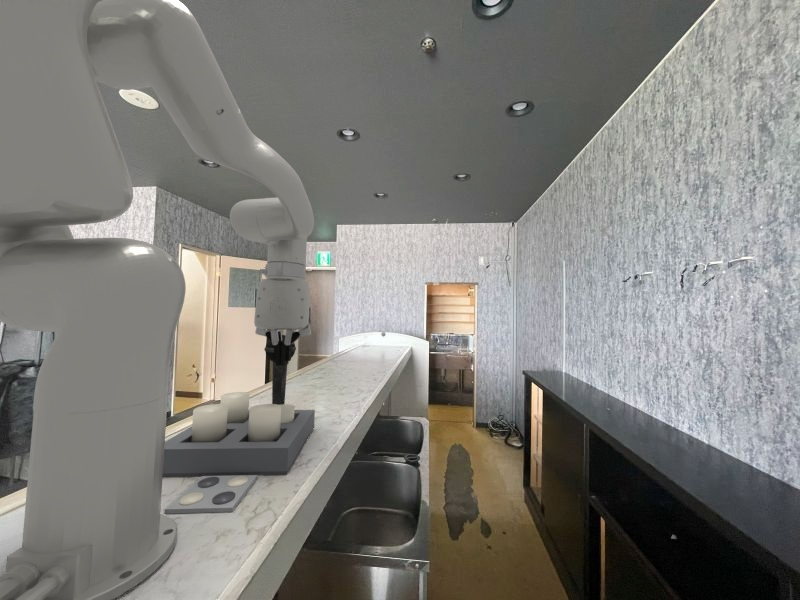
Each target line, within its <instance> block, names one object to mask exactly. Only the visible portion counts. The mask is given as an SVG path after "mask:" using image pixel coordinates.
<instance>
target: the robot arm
mask: <svg viewBox="0 0 800 600" xmlns="http://www.w3.org/2000/svg"><path fill="white" fill-rule="evenodd" d="M98 83H101V84H103V85H105V86H108V87H110V88H114V89H117V90H124V91H130V90H132V91H133V90H140V89H147V88H152V90H153V91H154V94H156V96H157V97H158V99H159V101H160V102H161V103H162V105H163V107H164V108H165V109H166V111H167V113H168V114H169V115H170V117H171V119H172V120H173V122H174V123H175V125H176V127H177V129H178V130H179V131H180V133H181V134H182V136H183V137H184V139H185V140H186V142H187V144H188V145H189V146H190V149H191V150H192V151H193V152H194V153H195V154H196V155H197V156H199V157H200V158H202V159H204V160H206V161H209V162H211V163H213V164H217V165H220V166H221V167H224V168H227V169H230V170H233V171H235V172H238V173H241V174H244V175H245V176H247V177H250V178H252V179H254V180H256V181H257V182H259V183H261V184H262V185H264V187H267V189H269V191H270V192H272V193H273V194H274V195H275V197H264V198H252V199H251V198H249V199H243V200H240V201H238V202H236V203H235V204H234V205H233V206H232V207H231V209H230V213H229V221H230V224H231V227H232V228H233V230H234V232H235V233H236V234H238V236H239V237H241V238H243V239H245V240H247V241H250V242H254V243H260V244H265V245H267V258H266V259H267V262H266V264H265V267H260V268H259V271H258V272H259V275H263V276H264V277H265V278H262V279H261V280H260V284H259V287H258V292H257V297H256V302H255V309H254V326H255V327H256V328H255V334H256V335H258V336H262V337H266V338H267V339H268V341H269V340H270V341H271V342H272V344H273V345H274V361H276V366H280V365H281V366H285V365H287V366H288V365H289V363H290V361H291V360H292V358H291V350H292V344H293V343H296V341H297V340H298V339H299V338H302V337H305V336H310V335H311V334H312V329H311V323H312V305H311V303H312V302H311V290H310V284H309V281H307V280H306V271H307V269H306V268H307V248H308V247H307V246H308V237H309V236H310V235H311V234H312V232H313V230H314V227H315V216H314V211H313V208H312V204H311V202H310V200H309V196H308V194H307V192H306V189H305V187H304V183H303V182H302V180H301V178H300V176H299V175H298V173H297V172H296V170H295V169H294V168H293V167H292V165H290V164H289V163H288V161H286V160H285V159H284V158H283V157H282V156H281V154H279V153H278V152H277V151H276V150H275V149H273V148H272V147H271V146H270V145H268V144H267V143H266V142H264V141H263V140H262V139H260V138H259V137H258V136H256V135H255V134H254V133H253V132H252V130H251V129H250V127H249V126H248V124H247V122H246V119H245V118H244V115H243V114H242V112H241V109H240V108H239V105H238V103H237V101H236V99H235V97H234V95H233V93H232V91H231V89H230V87H229V85H228V82H227V80H226V79H225V76H224V74H223V72H222V70H221V67H220V65H219V63H218V62H217V59H216V57H215V55H214V53H213V51H212V49H211V47H210V45H209V42H208V41H207V38H206V37H205V34H204V33H203V30H202V28H201V26H200V25H199V23H198V21H197V20H196V17H195V16H194V14H192V12H191V11H190V9H189V8H188V7H187V6H186V5H185V4H184V3H182V2H181V1H180V0H0V322H1V323H2V324H5V325H8V326H10V327H13V328H17V329H19V330H20V329H21V330H25V331H31V332H32V331H33V332H42V333H43V332H44V333H49V332H50V333H57V334H56V336H55V338H54V339H53V342H52V343H51V345H50V347H49V348H48V351H47V353H46V354H45V356H44V358H43V360H42V363H41V365H40V368H39V370H38V374H37V376H36V377H37V378H36V381H35V387H34V393H33V404H32V410H33V414H32V426H31V427H32V428H31V436H30V437H31V438H30V449H29V460H28V470H27V471H28V472H27V474H28V475H27V484H26V494H25V497H26V498H25V506H24V507H25V508H24V517H23V528H22V529H23V531H22V543H21V547H20V548H18V549H16V550H15V551H14V552H12V553H10V554H9V555H7V556H6V566H5V572H4V574H2V575H0V600H115V599H116V598H118V597H120V596H121V595H123V594H124V593H126V592H129V590H132V589H133V588H135V587H136V586H137V585H138V584H140V583H141V582H143V581H145V579H146V578H148V577H149V576H151V574H153V572H155V571H156V570H157V569H158V568H159V567H160V566H161V565H162V564H163V563H164V562H166V560H167V559H168V557H169V556H170V555H171V553H172V552H173V550H174V549H175V546H176V543H177V540H178V526H177V523H176V522H175V520H174V519H173V518H172V517H170V516H168V515H165V514H161V508H162V507H161V505H162V494H163V493H162V491H163V479H164V477H163V463H164V447H165V441H166V431H167V429H166V428H167V412H168V392H169V391H168V390H169V378H170V377H169V375H170V366H171V365H170V364H171V356H172V349H173V342H174V340H175V339H174V337H175V333H176V330H177V326H178V323H179V320H180V317H181V313H182V310H183V307H184V303H185V298H186V291H187V290H186V279H185V275H184V272H183V270H182V267H181V266H180V264H179V263H178V262H177V260H176V259H175V258H174V257H173V256H172V255H171V254H169V253H168V252H167V251H166V250H164V249H163V248H161V247H159V246H158V245H155V244H152V243H149V242H147V241H143V240H139V239H138V240H137V239H132V238H127V237H125V238H124V237H89V238H88V237H87V238H86V237H84V238H83V237H82V238H80V237H79V238H75V237H74V235H73V234H72V231H71V228H70V226H76V225H78V226H79V225H89V224H91V225H92V224H97V223H103V222H108V221H111V220H114V219H116V218H119V217H120V216H123V214H124V213H126V212H127V211H128V210H129V209H130V208H131V205H132V202H133V199H134V187H133V183H132V177H131V174H130V171H129V169H128V165H127V163H126V160H125V156H124V154H123V151H122V148H121V146H120V143H119V141H118V138H117V135H116V132H115V129H114V126H113V124H112V121H111V118H110V116H109V113H108V110H107V108H106V104H105V101H104V99H103V96H102V93H101V91H100V88H99V85H98ZM283 330H286V331H285V335H286V336H285V341H284V342H283V341H282V335H283V334H282V333H283V332H282V331H283ZM297 330H298V331H297Z"/></svg>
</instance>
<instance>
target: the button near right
mask: <svg viewBox="0 0 800 600" xmlns="http://www.w3.org/2000/svg"><path fill="white" fill-rule="evenodd" d="M280 424H281V406H280V405H278V404H272V403H265V404H263V403H262V404H258V405H253V406H252V407H249V428H248V441H249V442H272V441H275V440H277V439H278V438H279V437H280Z"/></svg>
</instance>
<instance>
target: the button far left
mask: <svg viewBox="0 0 800 600" xmlns="http://www.w3.org/2000/svg"><path fill="white" fill-rule="evenodd" d="M220 404H225V405H227V406H228V413H227V423H244V422H246V421H247V420H248V415H249V409H250V393H249V392H244V391H238V392H237V391H236V392H235V391H234V392H229V393H225V394H224V393H223V394H222V395H220Z"/></svg>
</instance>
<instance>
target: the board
mask: <svg viewBox="0 0 800 600" xmlns="http://www.w3.org/2000/svg"><path fill="white" fill-rule="evenodd" d="M248 428H249V415H248V420H247V421H246V422H244V423H227V434H226V437H225V438H224V439H222V440H221V441H218V442H194V443H192V442H191V441H192V425H191V426H190V427H188V428H186V429H184V430H182V431H181V432H179V433H178V434H175V436H172V437H171V438H169V439H167V440H165V447H164V463H163V478H173V477H174V478H176V477H177V478H179V477H180V478H181V477H184V478H185V477H201V476H232V475H258V476H278V475H280V476H284V475H285V476H286V475H288V474H289V473H290V471H291V469H292V467H293V465H294V463H295V462H296V460H297V459H298V457H299V456H300V453H301V452H302V450H303V448H304V447H305V445H306V443H307V442H308V440H309V438H310V437H311V435H312V433H313V431H314V430H313V428H314V429H315V409H295V410H294V421H293V423H281V424H280V437H279V438H278V439H277V440H275V441H272V442H249V441H248ZM312 430H313V431H312ZM311 432H312V433H311ZM310 434H311V435H310ZM307 439H308V440H307ZM304 444H305V445H304ZM303 446H304V447H303Z"/></svg>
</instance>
